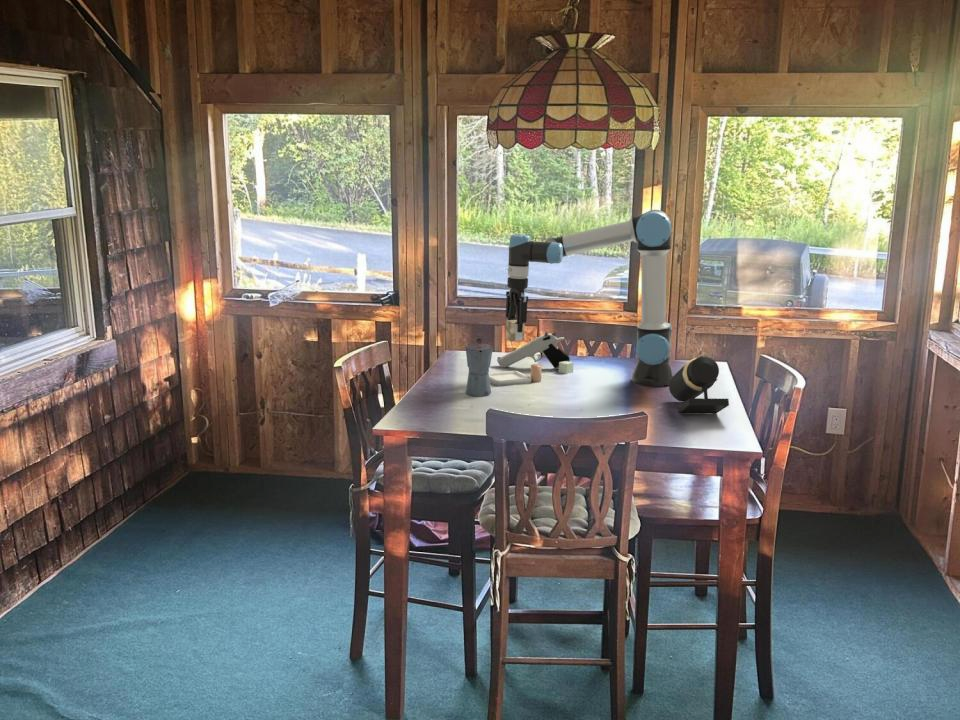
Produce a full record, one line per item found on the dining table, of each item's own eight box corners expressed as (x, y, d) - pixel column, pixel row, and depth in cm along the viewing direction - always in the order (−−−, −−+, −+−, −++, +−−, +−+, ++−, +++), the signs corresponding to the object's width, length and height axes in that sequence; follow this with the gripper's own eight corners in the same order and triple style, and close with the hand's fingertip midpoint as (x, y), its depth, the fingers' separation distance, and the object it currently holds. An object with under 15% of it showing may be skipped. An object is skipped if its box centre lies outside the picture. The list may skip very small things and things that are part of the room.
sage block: (573, 372, 352) (573, 362, 352) (566, 374, 350) (567, 364, 349) (565, 370, 355) (565, 360, 354) (558, 372, 352) (559, 362, 352)
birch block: (523, 340, 334) (524, 322, 332) (511, 341, 332) (512, 322, 330) (517, 338, 338) (518, 319, 337) (505, 338, 336) (506, 320, 335)
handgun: (575, 360, 354) (557, 327, 351) (513, 391, 359) (495, 359, 356) (575, 358, 358) (557, 325, 355) (514, 389, 363) (496, 356, 360)
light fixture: (700, 372, 317) (724, 352, 292) (704, 421, 312) (729, 405, 288) (664, 371, 316) (685, 352, 291) (667, 421, 312) (689, 405, 287)
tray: (531, 382, 335) (531, 377, 334) (497, 386, 329) (497, 381, 328) (516, 375, 345) (516, 370, 345) (483, 378, 339) (483, 373, 339)
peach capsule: (542, 381, 337) (543, 366, 335) (533, 382, 335) (534, 367, 334) (537, 379, 340) (538, 363, 339) (528, 380, 339) (529, 364, 337)
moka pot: (467, 399, 311) (468, 342, 306) (461, 387, 325) (462, 333, 321) (494, 398, 312) (496, 342, 308) (487, 387, 327) (488, 333, 322)
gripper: (498, 273, 336) (495, 334, 341) (520, 280, 320) (516, 344, 326) (515, 273, 339) (513, 333, 345) (538, 280, 323) (535, 343, 329)
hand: (514, 338), depth 335 cm, fingers closed on birch block, 5 cm apart
